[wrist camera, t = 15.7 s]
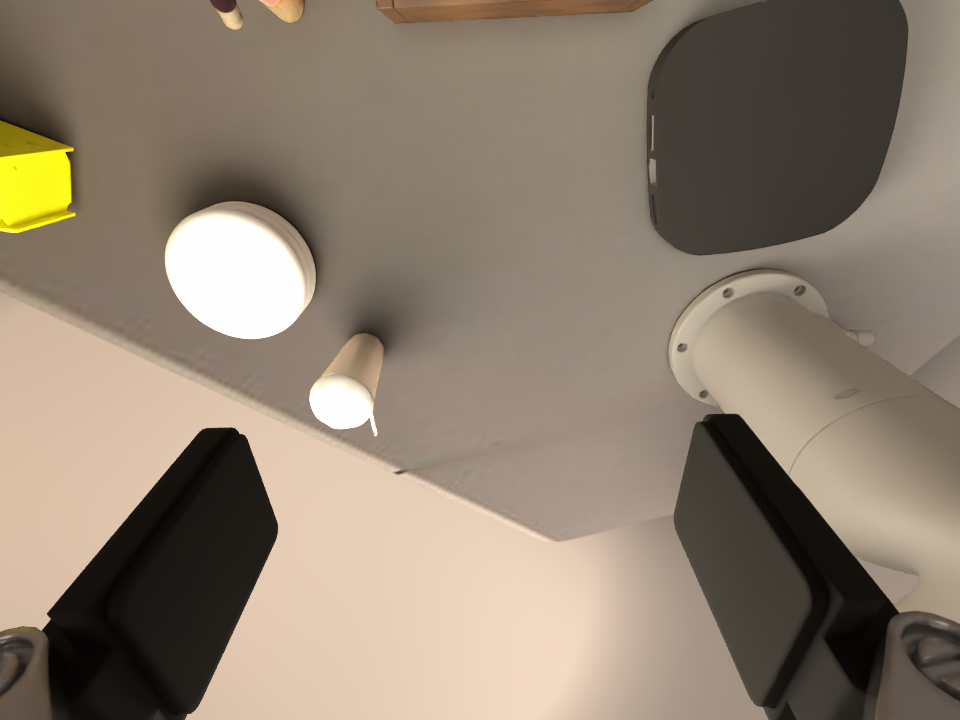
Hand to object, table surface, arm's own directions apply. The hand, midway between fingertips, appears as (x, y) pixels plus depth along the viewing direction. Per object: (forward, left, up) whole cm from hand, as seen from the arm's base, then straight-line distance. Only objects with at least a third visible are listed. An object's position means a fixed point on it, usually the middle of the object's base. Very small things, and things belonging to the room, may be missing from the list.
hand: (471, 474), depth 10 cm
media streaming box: (-19, -4, -28) cm, 34 cm away
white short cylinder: (+18, +4, -28) cm, 34 cm away
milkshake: (+10, +12, -28) cm, 32 cm away
